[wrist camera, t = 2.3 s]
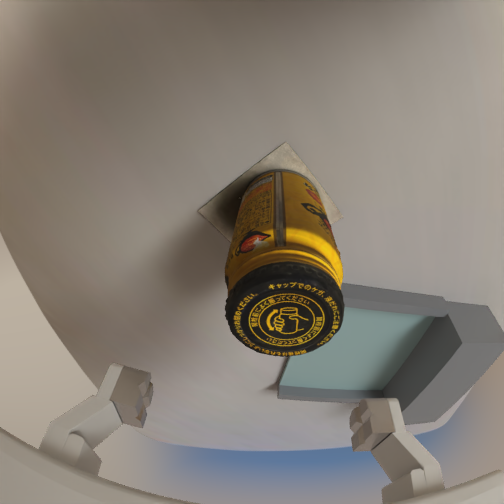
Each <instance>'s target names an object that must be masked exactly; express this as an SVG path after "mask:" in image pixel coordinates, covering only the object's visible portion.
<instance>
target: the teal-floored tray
mask: <svg viewBox="0 0 504 504" xmlns="http://www.w3.org/2000/svg"><path fill="white" fill-rule="evenodd" d="M341 292H342V294H343V301H344V304H345V307H344V317H343V322H342V325H341V328H340V330H339V331H338V332H337V333H336V334H335V335H334V336H333V337H332V338H331V340H330V341H329V342H328V343H326V344H324V345H323V346H321V347H319V348H318V349H316V350H314V351H312V352H309V353H305V354H302V355H297V356H289V358H288V361H287V363H286V366H285V368H284V371H283V373H282V376H281V378H280V381H279V383H278V395H277V398H278V399H289V400H302V401H318V402H343V403H359V402H360V401H361V400H362V399H366V398H397V399H398V401H399V405H400V409H401V413H402V417H403V421H404V425H410V424H419V423H428V422H435V421H436V420H437V419H439V418H440V417H441V416H442V415H443V414H444V413H445V412H446V411H447V410H448V409H450V408H451V407H452V406H453V405H454V404H455V403H456V402H457V401H458V400H459V399H460V398H461V397H462V396H463V395H464V394H465V393H466V392H467V391H468V390H469V389H470V388H471V387H472V386H473V385H474V384H475V383H476V382H477V381H478V379H479V378H480V377H481V376H482V375H483V374H484V373H485V372H486V371H487V370H488V368H489V367H490V366H491V365H492V364H493V363H494V361H495V360H496V359H497V358H498V357H499V355H500V354H501V353H502V352H503V350H504V332H503V330H502V329H501V327H500V325H499V324H498V322H497V320H496V319H495V317H494V315H493V314H492V312H491V310H490V309H489V307H488V306H482V305H473V304H465V303H456V302H448V301H445V300H444V298H443V297H439V296H432V295H424V294H417V293H409V292H402V291H395V290H387V289H380V288H373V287H366V286H359V285H352V284H345V283H342V284H341Z"/></svg>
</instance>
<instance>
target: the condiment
mask: <svg viewBox="0 0 504 504" xmlns="http://www.w3.org/2000/svg"><path fill="white" fill-rule="evenodd" d="M239 197H240V199H239ZM198 212H199V213H201V214H202V215H203V216H204V217H205V218H206V219H207V220H208V221H209V222H210V223H211V224H212V225H213V226H214V227H215V228H216V229H217V230H218V231H219V232H220V233H221V234H222V235H223V236H224V237H225V238H226V239H227V240H228V241H229V242H230V243H231V245H230V249H229V253H228V257H227V262H226V266H225V282H226V284H227V289H228V298H227V299H226V305H225V311H226V315H225V317H226V319H227V320H228V325H229V326H230V330H231V332H232V334H233V335H234V336H235V337H236V338H237V339H238V340H239V341H240V342H242V343H243V344H244V345H245V346H246V347H249V348H251V349H253V350H254V351H256V352H259V353H263V354H267V355H273V356H281V357H283V356H287V357H288V356H297V355H302V354H305V353H309V352H312V351H314V350H316V349H318V348H319V347H321V346H323V345H324V344H326V343H328V342H329V341H330V340H331V338H332V337H333V336H334V335H335V334H336V333H337V332H338V331H339V330H340V328H341V325H342V322H343V317H344V307H345V304H344V301H343V294H342V292H341V284H342V279H343V268H342V263H341V259H340V252H339V251H338V249H337V246H336V243H335V239H334V237H333V233H332V230H331V224H333V223H334V222H336V221H338V220H339V219H341V218H343V216H342V214H341V213H340V211H339V210H338V209H337V207H336V206H335V204H334V203H333V202H332V200H331V199H330V197H329V196H328V195H327V193H326V192H325V191H324V189H323V188H322V187H321V185H320V184H319V183H318V181H317V180H316V179H315V177H314V176H313V175H312V173H311V172H310V171H309V169H308V168H307V167H306V166H305V164H304V163H303V162H302V160H300V158H299V157H298V156H297V154H296V153H295V152H294V151H293V149H292V148H291V147H290V146H289V144H288V143H287V142H285V143H284V144H283V145H281V146H280V147H278V148H277V149H276V150H274V151H273V152H272V153H270V154H269V155H268V156H266V157H265V158H264V159H262V160H261V161H260V162H258V163H257V164H256V165H254V166H253V167H252V168H250V169H249V170H248V171H247V172H245V173H244V174H243V175H242V176H240V177H239V178H238V179H237V180H235V181H234V182H233V183H232V184H231V185H229V186H228V187H227V188H225V189H224V190H223V191H222V192H220V193H219V194H218V195H216V196H215V197H214V198H213V199H212V200H211V201H210V202H208V203H207V204H206V205H205V206H203V207H202V208H201V209H200V210H199V211H198Z"/></svg>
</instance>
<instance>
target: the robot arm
mask: <svg viewBox="0 0 504 504" xmlns="http://www.w3.org/2000/svg"><path fill="white" fill-rule="evenodd" d="M150 380H151V374H150V372H146V371H142V370H138V369H134V368H130V367H127V366H124V365H120V364H116V363H112V364H111V365H110V366H109V368H108V371H107V373H106V375H105V377H104V379H103V382H102V384H101V386H100V388H99V391H98V393H97V395H96V396H94V395H92V396H91V397H89V398H87V399H86V400H85V401H83V402H81V403H80V404H78V405H77V406H75V407H74V408H72V409H70V410H69V411H67V412H66V413H64V414H63V415H61V416H59V417H58V418H56V419H55V420H53V421H51V422H50V424H49V426H48V428H47V431H46V433H45V435H44V437H43V440H42V442H41V445H40V447H39V449H37V448H35V447H33V446H31V445H29V444H27V443H26V442H24V441H22V440H20V439H19V438H17V437H15V436H14V435H12V434H10V433H9V432H7V431H6V430H4V429H2V428H1V427H0V504H199V503H193V502H188V501H183V500H177V499H173V498H168V497H164V496H160V495H156V494H152V493H148V492H145V491H141V490H138V489H134V488H131V487H128V486H125V485H122V484H119V483H116V482H113V481H109V480H107V479H104V478H101V477H99V476H98V472H99V469H100V465H101V459H100V458H99V457H98V456H97V454H96V453H95V452H94V451H93V449H94V448H95V447H96V446H97V445H98V444H100V443H101V442H102V441H103V440H104V439H106V438H107V437H108V436H109V435H111V434H112V433H113V432H114V431H115V430H117V429H118V428H119V427H120V426H121V425H122V423H124V424H128V425H132V426H136V427H139V428H143V426H144V423H145V420H146V417H147V412H146V408H147V407H148V406H150V404H151V400H152V396H153V384H152V383H151V382H150ZM350 429H351V430H352V431H353V432H354V434H353V436H352V437H351V440H352V448H353V451H371V453H372V454H373V456H374V457H375V459H376V460H377V461H378V463H379V464H380V466H381V467H382V468H383V470H384V471H385V473H386V474H387V476H388V477H389V478H390V480H391V481H392V483H391V484H389V485H387V486H385V487H384V488H383V489H382V500H383V504H504V472H503V471H502V470H496V471H493V472H491V473H488V474H486V475H483V476H481V477H478V478H476V479H473V480H470V481H467V482H465V483H462V484H459V485H456V486H453V487H450V488H446V489H445V487H444V482H443V477H442V472H441V468H440V464H439V463H438V461H437V460H435V458H434V457H433V456H432V455H431V454H430V453H429V452H428V451H427V450H426V449H425V448H424V447H423V446H422V445H421V444H420V442H419V441H417V439H416V438H415V437H414V436H413V435H412V434H411V433H410V432H409V431H406V429H405V425H404V421H403V417H402V413H401V409H400V405H399V401H398V399H397V398H366V399H362V400H361V401H360V402H359V406H358V407H356V408H354V410H353V411H352V412H351V416H350Z"/></svg>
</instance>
